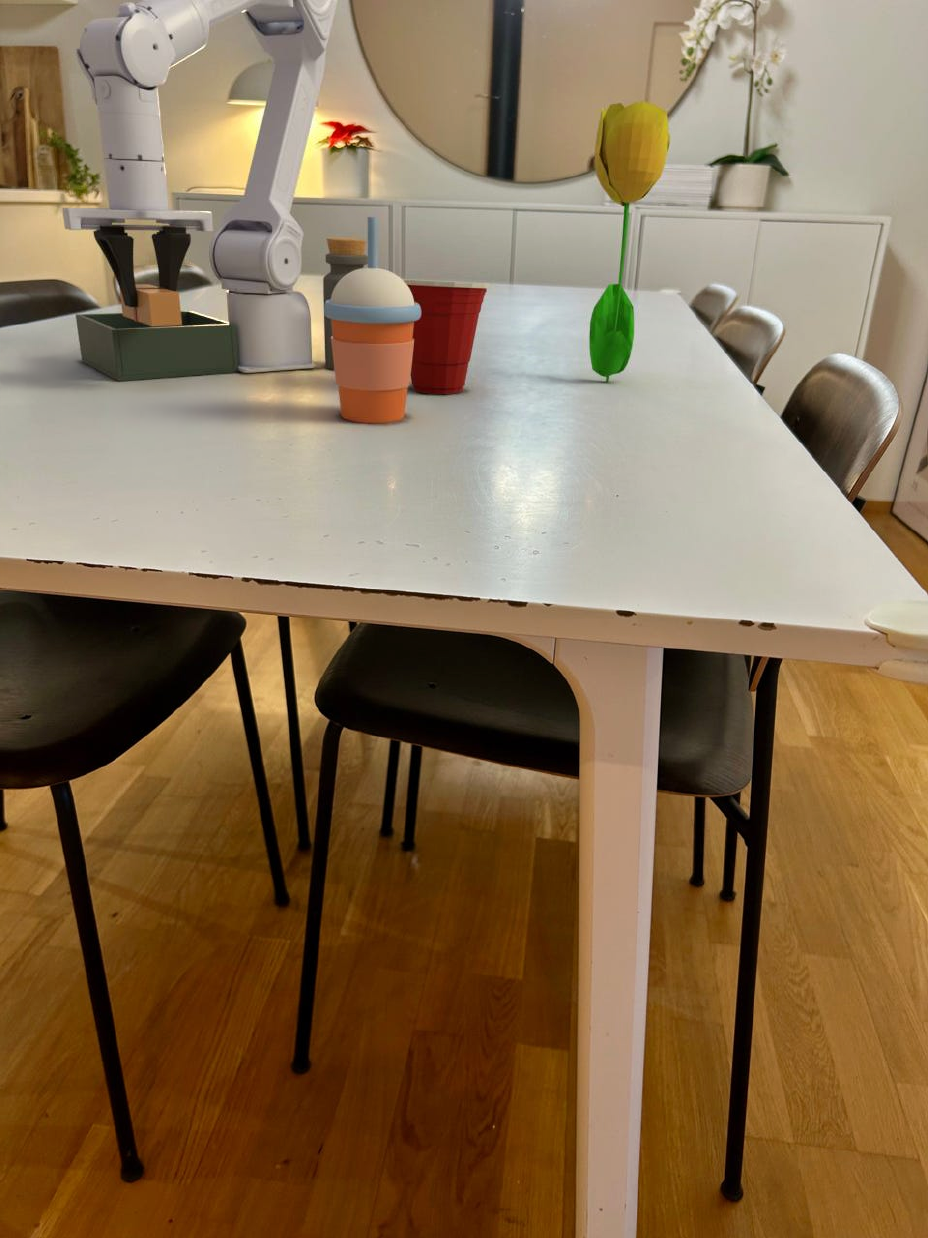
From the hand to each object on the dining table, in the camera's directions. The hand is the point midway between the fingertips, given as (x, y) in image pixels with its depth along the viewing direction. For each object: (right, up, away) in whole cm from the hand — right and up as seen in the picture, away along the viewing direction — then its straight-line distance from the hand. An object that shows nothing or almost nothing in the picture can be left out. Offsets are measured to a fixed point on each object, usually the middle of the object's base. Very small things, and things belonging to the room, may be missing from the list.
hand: (149, 305), depth 95 cm
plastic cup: (+30, -7, +8) cm, 32 cm away
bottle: (+19, -1, +19) cm, 27 cm away
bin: (-4, -3, +14) cm, 15 cm away
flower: (+51, -4, +16) cm, 54 cm away
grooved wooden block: (0, -1, +1) cm, 2 cm away
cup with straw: (+24, -13, -6) cm, 28 cm away
